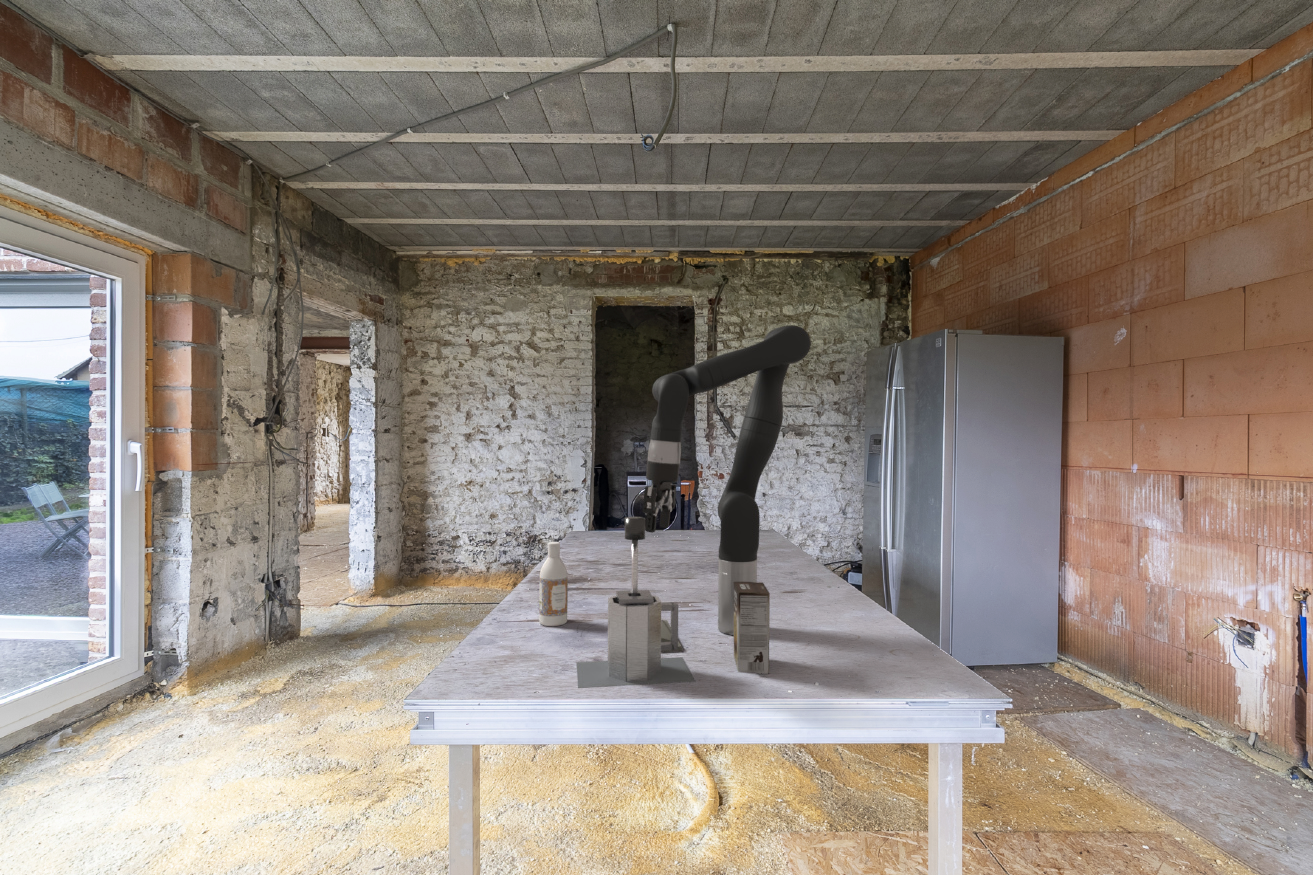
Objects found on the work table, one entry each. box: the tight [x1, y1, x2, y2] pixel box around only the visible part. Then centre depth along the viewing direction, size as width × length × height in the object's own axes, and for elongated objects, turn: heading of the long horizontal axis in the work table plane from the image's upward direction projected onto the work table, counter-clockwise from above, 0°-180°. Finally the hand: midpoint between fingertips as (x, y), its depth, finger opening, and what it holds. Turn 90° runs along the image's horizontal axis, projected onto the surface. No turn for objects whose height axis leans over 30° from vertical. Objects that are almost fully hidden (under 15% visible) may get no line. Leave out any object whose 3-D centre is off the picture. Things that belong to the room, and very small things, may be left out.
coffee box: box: [733, 581, 771, 675], centre depth 124 cm, size 9×6×16 cm
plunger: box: [624, 516, 646, 606], centre depth 119 cm, size 7×7×21 cm
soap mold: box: [661, 619, 683, 654], centre depth 140 cm, size 10×20×4 cm, turn 8°
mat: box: [576, 656, 697, 689], centre depth 119 cm, size 22×13×1 cm, turn 99°
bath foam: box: [538, 541, 569, 627], centre depth 152 cm, size 7×7×20 cm
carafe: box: [607, 589, 679, 682], centre depth 120 cm, size 14×10×15 cm
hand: (657, 529), depth 142 cm, fingers open, 8 cm apart
